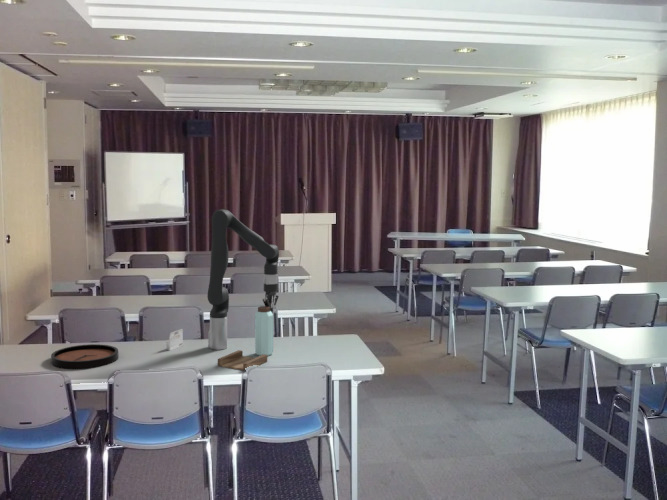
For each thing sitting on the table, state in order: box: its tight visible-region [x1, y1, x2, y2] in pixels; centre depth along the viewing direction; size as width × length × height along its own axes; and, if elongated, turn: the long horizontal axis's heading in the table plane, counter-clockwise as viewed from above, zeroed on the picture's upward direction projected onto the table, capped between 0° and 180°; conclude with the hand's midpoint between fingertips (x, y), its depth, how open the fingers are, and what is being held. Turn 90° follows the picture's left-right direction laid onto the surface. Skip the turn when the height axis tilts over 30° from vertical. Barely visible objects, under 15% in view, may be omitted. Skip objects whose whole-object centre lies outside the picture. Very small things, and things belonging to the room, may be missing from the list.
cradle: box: [217, 349, 268, 371], centre depth 311 cm, size 17×18×4 cm
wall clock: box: [50, 343, 120, 370], centre depth 313 cm, size 31×4×31 cm
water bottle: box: [254, 305, 274, 357], centre depth 328 cm, size 10×10×25 cm
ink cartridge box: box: [165, 328, 184, 351], centre depth 337 cm, size 2×11×10 cm, turn 155°
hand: (270, 314), depth 332 cm, fingers closed
